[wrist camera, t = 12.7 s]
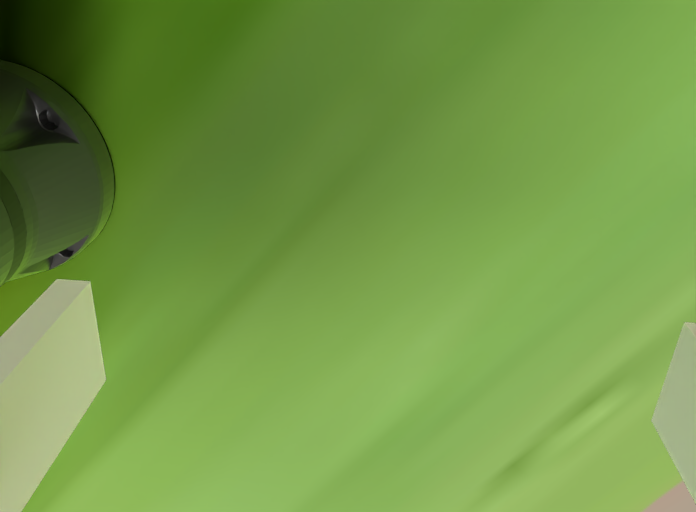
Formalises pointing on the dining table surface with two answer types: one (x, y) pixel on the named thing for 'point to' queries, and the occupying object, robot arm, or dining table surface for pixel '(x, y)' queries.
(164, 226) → the dining table surface
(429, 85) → the dining table surface
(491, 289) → the dining table surface
